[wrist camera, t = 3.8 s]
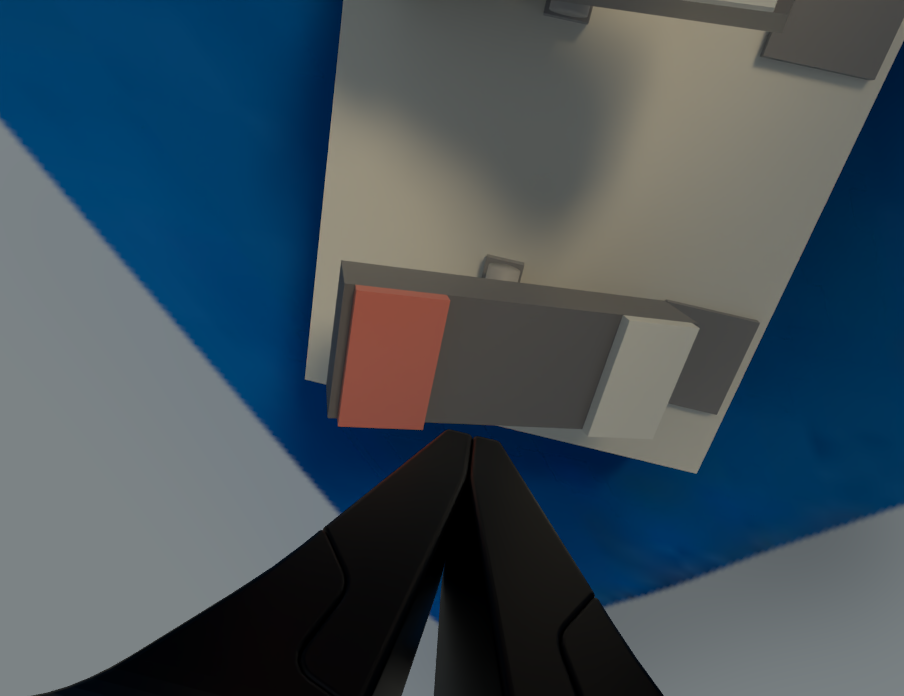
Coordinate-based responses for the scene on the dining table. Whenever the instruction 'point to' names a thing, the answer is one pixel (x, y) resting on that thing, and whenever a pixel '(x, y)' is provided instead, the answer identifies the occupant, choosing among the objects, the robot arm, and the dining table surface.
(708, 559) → the dining table surface
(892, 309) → the dining table surface
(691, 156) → the panel
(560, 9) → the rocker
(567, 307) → the rocker
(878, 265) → the dining table surface
